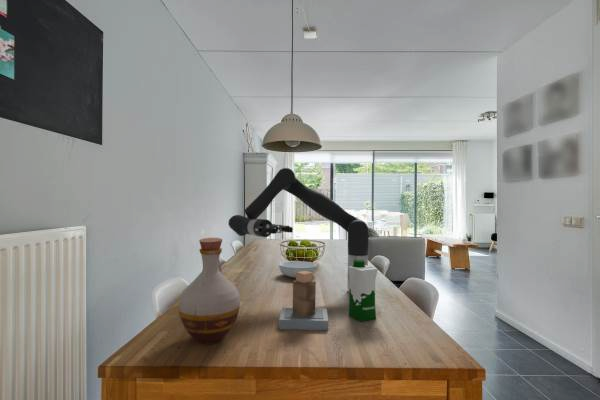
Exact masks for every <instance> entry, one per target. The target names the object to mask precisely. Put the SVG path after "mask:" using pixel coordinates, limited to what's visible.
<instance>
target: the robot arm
mask: <svg viewBox="0 0 600 400" xmlns="http://www.w3.org/2000/svg"><path fill="white" fill-rule="evenodd" d="M282 190H283V191H285V192H287V193H289V194H291V195H293V196H294V197H295V198H297V199H298V200H300V201H301V202H302V203H303V204H305V205H306V206H307V207H309V208H310V209H311V210H312V211H313V212H315V213H317V215H320V216H322V217H323V218H325V219H327V220H329V221H331V222H333V223H335V224H336V225H338V226H340V228H342V229H343V230H344V231H346V232H347V267H348V266H353V265H354V260H364V261H365V265H367V266H369V226H368V225H367V223H366V222H365V221H363V220H361V219H359V218H357V217H356V216H354V215H352V214H351V213H350V212H349V213H348V212H347V211H346V210H345V209H343V208H342V207H341V206H340V205H339V204H338V203H336V202H335V201H334V200H333V199H332V198H330V197H328V195H326V194H324V193H323V192H321V191H319V190H316V189H315V188H312V187H309V186H308V185H305V184H304V183H303V182H302V181H300V179H298V178H297V177H296V174H295V172H294V170H293V169H291V168H288V167H284V168H281V169H280V170H278V172H277V173H276V174H275V176H274V177H273V179H272V180H271V181H270V182H269V183H268V185H267V186H266V188H265V189H264V190H263V191H262V192H261V193H260V194H259V195H258V196H257V197H256V198H254V200H253V201H252V202H251V203H250V204H249V205H248V206H247V207H245V209H244V213H245V215H246V216H244V215H240V214H235V215H233V216H230V218H229V220H228V226H229V229H231V230H232V231H233V232H234V233H236V235H238V236H240V237H243V236H246V235H250V236H251V235H252V236H255V237H261V238H268V237H270V236H271V234H272V235H275V234H281V233H293V230H294V229H293V228H294V227H292V226H290V225H283V224H275V223H273V222H272V221H271V220H269V219H263V218H259V217H260V216H261V215H262V214H263V213H264V212H265V211H266V209H268V207H269V206H270V205H271V203H272V202H273V200H274V199H275V198H276V197H277V196H278V194H279V193H281V192H282ZM347 292H349V293H350V277H349V270H348V269H347Z"/></svg>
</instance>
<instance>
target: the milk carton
mask: <svg viewBox="0 0 600 400" xmlns="http://www.w3.org/2000/svg"><path fill="white" fill-rule="evenodd" d="M348 270H349V277H350V292H349V295H348V296H349V302H348V303H349V305H348V317H349V316H350V317H352V318H353V319H355V320H357V321H359V322H366V321H370V320H375V319H377V312H376V278H377V274H378V268H376V267H374V266H370V265H368V266H367V265H365V261H364V260H354V265H353V266H348V265H347V271H348Z"/></svg>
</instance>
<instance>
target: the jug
mask: <svg viewBox="0 0 600 400" xmlns="http://www.w3.org/2000/svg"><path fill="white" fill-rule="evenodd" d="M222 242H223V239H222V238H220V237H205V238H200V239H199V245H200V248H199V253H200V255H201V259H202V260H201V261H202V271H201V272H200V273H199V274H198V275H197V276H196V277H195V278H194V280H192V281H191V282H190V283H189V284H188V285H187V286H186V287H185V288H184V289H183V291H182V292H181V294H180V297H179V300H178V312H179V317H180V320H181V323H182V325H183V328H184V329H185V331H186V332H187V333H188V334H189V336H190V337H191V338H192V339H193V341H195V342H196V343H198V344H200V345H213V344H214V345H215V344H217V343H220V342H221V341H222V340H224V338H225V337H226V336H227V334H228V333H229V332H230V330H231V329H232V327H233V326H234V325H235V323H236V320H237V318H238V315H239V312H240V306H241V295H240V292H239V290H238V288H237V287H236V286H235V285H234V284H233V283H232V282H231V281H230V280H229V279H228V278H227V277H226V276H225V275H223V272H222V271H223V269H222V263H221V261H220V255H221V253H222V252H223V251H222V250H223V248H222V247H221V246H222V244H223V243H222Z"/></svg>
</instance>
